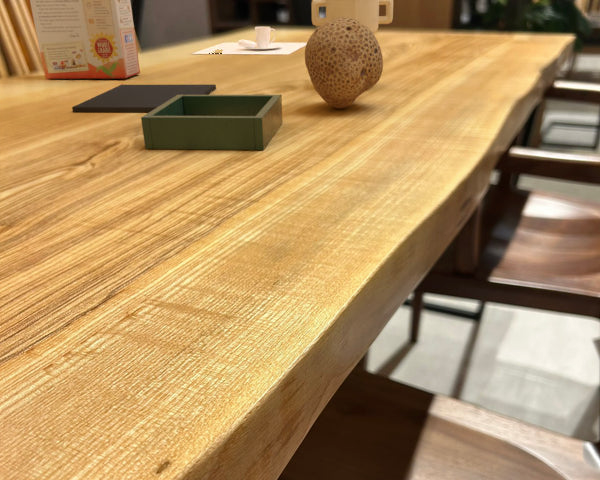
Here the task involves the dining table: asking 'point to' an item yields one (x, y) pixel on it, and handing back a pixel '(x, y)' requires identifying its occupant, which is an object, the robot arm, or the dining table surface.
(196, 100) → the square tray
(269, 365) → the dining table surface
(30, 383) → the dining table surface
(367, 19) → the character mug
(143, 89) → the rubber mat
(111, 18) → the cracker box
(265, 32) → the teacup and saucer
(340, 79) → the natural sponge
